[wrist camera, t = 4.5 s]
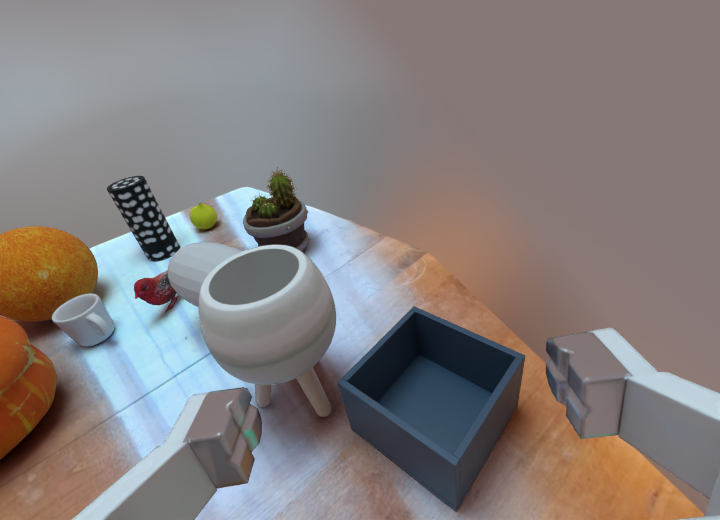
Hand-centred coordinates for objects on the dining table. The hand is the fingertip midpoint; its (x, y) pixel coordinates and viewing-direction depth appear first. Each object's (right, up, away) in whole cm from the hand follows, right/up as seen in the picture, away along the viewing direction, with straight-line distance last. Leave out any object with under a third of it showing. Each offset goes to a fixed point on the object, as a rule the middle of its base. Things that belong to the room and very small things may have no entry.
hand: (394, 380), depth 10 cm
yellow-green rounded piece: (-45, +13, +97) cm, 107 cm away
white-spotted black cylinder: (-54, +5, +88) cm, 103 cm away
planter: (-10, -17, +45) cm, 49 cm away
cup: (-52, -12, +63) cm, 82 cm away
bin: (+9, -18, +38) cm, 43 cm away
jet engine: (-23, -10, +58) cm, 64 cm away
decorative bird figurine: (-41, -5, +70) cm, 81 cm away
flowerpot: (-19, +5, +79) cm, 82 cm away
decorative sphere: (-67, -8, +73) cm, 100 cm away
